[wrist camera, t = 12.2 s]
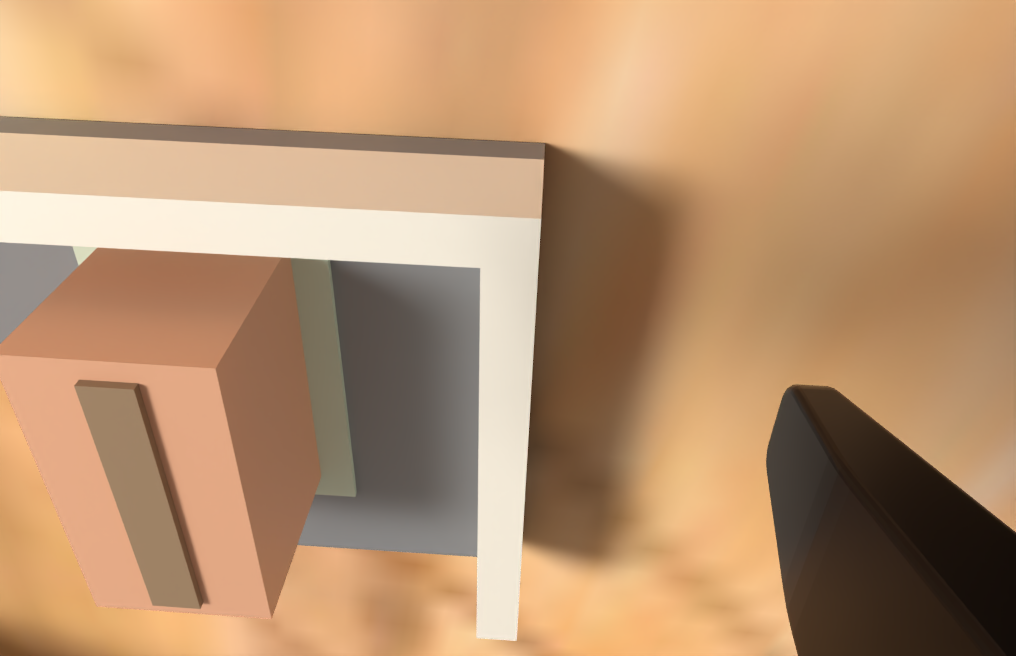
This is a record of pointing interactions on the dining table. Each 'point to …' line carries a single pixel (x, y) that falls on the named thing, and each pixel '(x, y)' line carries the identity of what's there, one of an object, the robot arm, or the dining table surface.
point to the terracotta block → (171, 426)
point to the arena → (335, 302)
